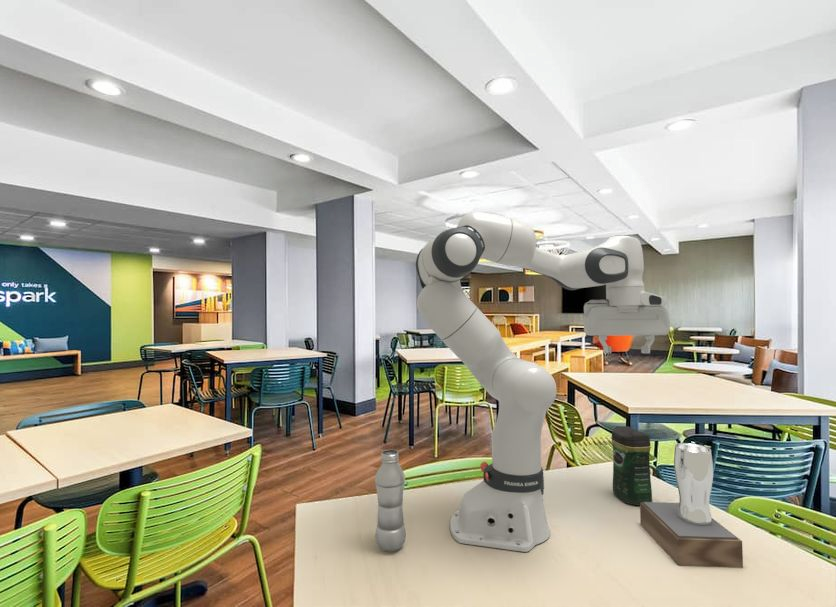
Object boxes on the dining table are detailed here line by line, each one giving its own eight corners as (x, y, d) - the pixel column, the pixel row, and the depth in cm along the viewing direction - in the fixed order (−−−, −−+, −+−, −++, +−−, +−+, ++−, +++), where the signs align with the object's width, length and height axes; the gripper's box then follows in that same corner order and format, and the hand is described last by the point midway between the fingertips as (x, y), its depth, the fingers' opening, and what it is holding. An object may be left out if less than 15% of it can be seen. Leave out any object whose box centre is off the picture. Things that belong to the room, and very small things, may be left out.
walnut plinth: (678, 565, 81) (677, 537, 81) (640, 524, 97) (640, 500, 97) (743, 567, 80) (742, 539, 80) (694, 525, 96) (693, 502, 96)
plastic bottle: (409, 540, 91) (409, 448, 91) (400, 558, 84) (399, 458, 85) (382, 536, 93) (381, 446, 93) (370, 553, 86) (369, 456, 87)
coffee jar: (658, 506, 106) (656, 432, 107) (629, 507, 105) (627, 434, 106) (634, 490, 116) (633, 423, 117) (607, 491, 115) (606, 424, 116)
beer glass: (721, 528, 85) (719, 453, 85) (684, 525, 86) (682, 451, 86) (704, 512, 91) (702, 443, 92) (669, 509, 93) (668, 441, 93)
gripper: (587, 299, 104) (588, 354, 104) (672, 298, 103) (674, 354, 102) (579, 300, 111) (580, 352, 110) (659, 299, 109) (661, 352, 109)
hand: (626, 353), depth 106 cm, fingers open, 8 cm apart
